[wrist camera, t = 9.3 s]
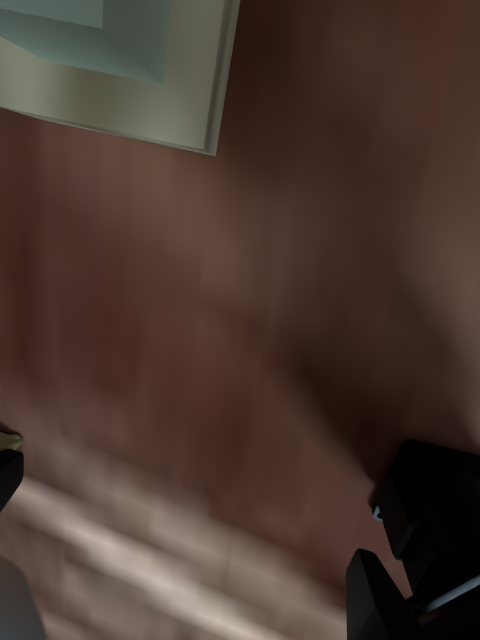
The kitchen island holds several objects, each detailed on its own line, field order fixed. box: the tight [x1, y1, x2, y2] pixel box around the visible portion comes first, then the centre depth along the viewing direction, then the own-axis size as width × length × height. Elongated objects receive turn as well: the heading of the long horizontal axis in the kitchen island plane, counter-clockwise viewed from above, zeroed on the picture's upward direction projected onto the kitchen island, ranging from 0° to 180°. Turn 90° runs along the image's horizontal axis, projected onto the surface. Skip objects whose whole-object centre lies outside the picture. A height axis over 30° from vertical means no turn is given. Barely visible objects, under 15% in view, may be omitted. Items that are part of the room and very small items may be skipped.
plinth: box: [0, 0, 240, 156], centre depth 14 cm, size 9×9×3 cm
